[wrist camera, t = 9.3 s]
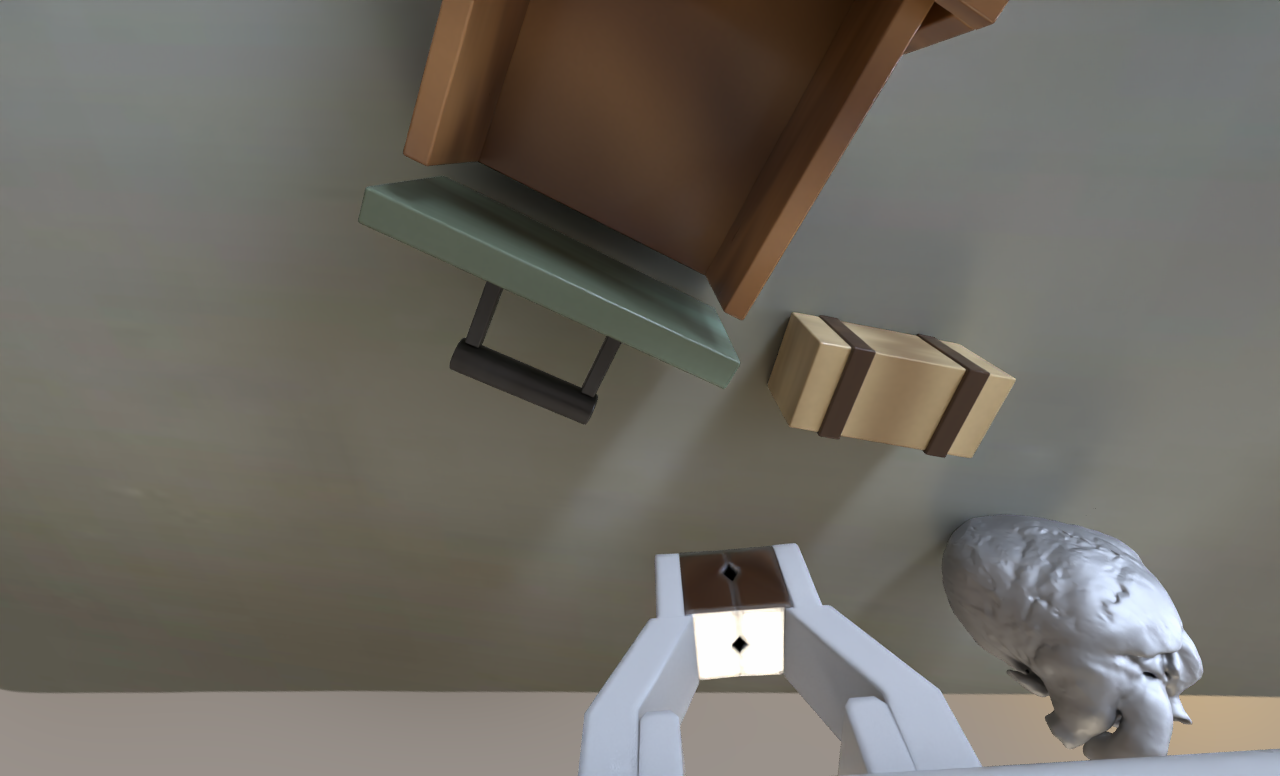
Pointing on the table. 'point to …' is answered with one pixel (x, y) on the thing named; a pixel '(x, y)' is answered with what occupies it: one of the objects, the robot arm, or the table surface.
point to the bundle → (885, 386)
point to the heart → (1075, 629)
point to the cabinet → (954, 20)
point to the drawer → (634, 159)
